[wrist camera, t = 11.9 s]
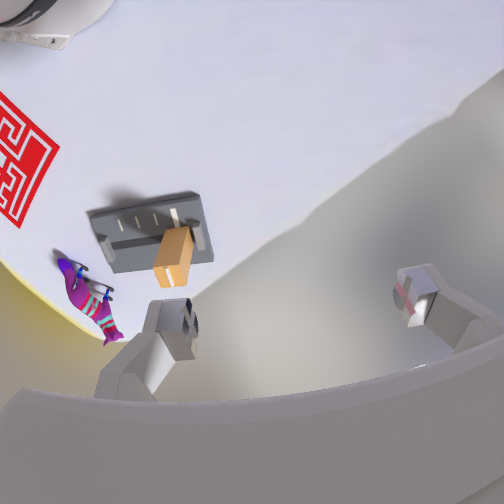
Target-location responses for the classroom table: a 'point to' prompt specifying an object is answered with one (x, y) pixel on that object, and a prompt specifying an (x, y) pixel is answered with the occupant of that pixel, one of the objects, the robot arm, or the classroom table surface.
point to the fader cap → (174, 257)
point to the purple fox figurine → (89, 300)
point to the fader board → (150, 232)
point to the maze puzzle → (22, 159)
